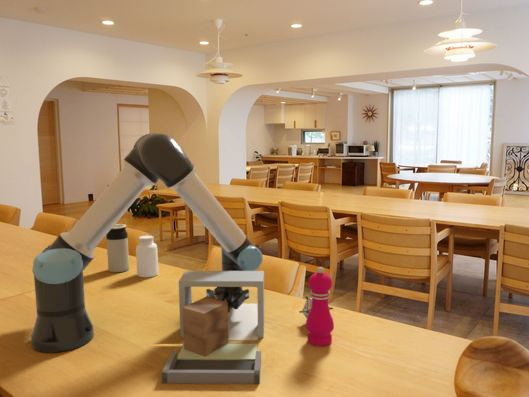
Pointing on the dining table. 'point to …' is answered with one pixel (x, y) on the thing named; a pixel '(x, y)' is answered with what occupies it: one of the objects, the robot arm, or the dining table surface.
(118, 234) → the travel mug
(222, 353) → the pad
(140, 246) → the pill bottle
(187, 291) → the tunnel
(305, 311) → the game die
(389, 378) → the dining table surface
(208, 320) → the walnut block
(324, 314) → the pepper mill
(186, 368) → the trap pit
